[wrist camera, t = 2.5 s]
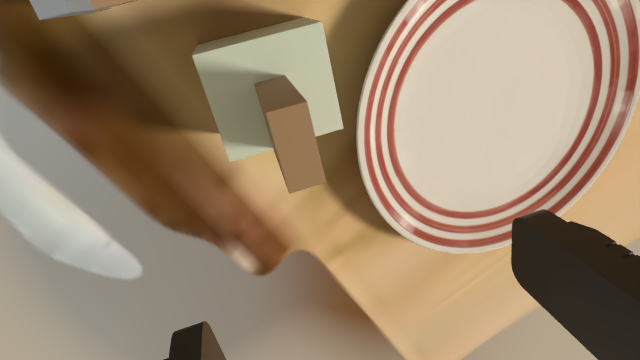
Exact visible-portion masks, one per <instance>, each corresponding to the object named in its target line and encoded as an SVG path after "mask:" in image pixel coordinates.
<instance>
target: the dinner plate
mask: <svg viewBox="0 0 640 360" xmlns="http://www.w3.org/2000/svg"><path fill="white" fill-rule="evenodd" d="M639 95H640V3H639V1H638V0H407V1H406V2H405V4H404V5H403V6H402V8H401V9H400V10H399V12H398V13H397V14H396V16H395V17H394V19H393V20H392V22H391V23H390V25H389V27H388V28H387V30H386V32H385V33H384V35H383V37H382V39H381V40H380V43H379V45H378V47H377V49H376V51H375V53H374V55H373V58H372V60H371V63H370V65H369V68H368V71H367V74H366V77H365V81H364V84H363V87H362V91H361V96H360V101H359V107H358V114H357V128H356V146H357V157H358V164H359V169H360V173H361V177H362V180H363V183H364V186H365V188H366V191H367V193H368V195H369V197H370V200H371V201H372V203H373V205H374V206H375V208H376V209H377V210H378V212H379V213H380V215H381V216H382V217H383V218H384V220H385V221H386V222H387V223H388V224H389V225H390V226H391V227H392V228H393V229H394V230H396V231H397V232H398V233H400V234H401V235H402V236H404V237H405V238H407V239H409V240H410V241H412V242H414V243H416V244H418V245H420V246H423V247H425V248H428V249H432V250H436V251H440V252H445V253H457V254H467V253H479V252H485V251H490V250H494V249H498V248H501V247H504V246H507V245H510V244H512V222H513V220H514V219H515V218H517V217H520V216H523V215H526V214H529V213H532V212H535V211H538V210H542V209H546V210H548V211H550V212H552V213H554V214H555V215H557V216H558V217H559V216H560V215H562V214H563V213H564V212H565V211H567V210H568V209H569V208H570V207H571V206H572V205H573V204H574V203H575V202H576V201H577V200H578V199H579V198H580V197H581V196H582V195H583V194H584V193H585V192H586V191H587V190H588V189H589V188H590V187H591V185H592V184H593V183H594V182H595V180H596V179H597V178H598V177H599V175H600V174H601V173H602V172H603V170H604V169H605V167H606V166H607V164H608V163H609V161H610V160H611V158H612V157H613V155H614V153H615V152H616V150H617V148H618V147H619V145H620V143H621V141H622V139H623V137H624V135H625V133H626V131H627V129H628V127H629V124H630V122H631V119H632V117H633V114H634V111H635V108H636V105H637V102H638V98H639Z"/></svg>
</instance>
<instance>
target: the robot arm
mask: <svg viewBox="0 0 640 360" xmlns="http://www.w3.org/2000/svg"><path fill="white" fill-rule="evenodd" d="M511 264H512V270H513V273H514V275H515V277H516V279H517V281H518V282H519V284H520V285H521V286H522V287H523V288H524V289H525V290H526V291H527V292H528V293H529V294H530V295H531V296H532V297H533V298H534V299H535V300H536V301H537V302H538V303H539V304H540V305H541V306H542V307H543V308H545V309H546V310H547V311H548V312H549V313H550V314H551V315H552V316H553V317H554V318H555V319H556V320H557V321H558V322H559V323H560V324H561V325H562V326H563V327H564V328H565V329H567V330H568V331H569V332H570V333H571V334H572V335H573V336H574V337H575V338H576V339H577V340H578V341H579V342H580V343H581V344H582V345H583V346H584V347H585V348H586V349H587V350H589V351H590V352H591V353H592V354H593V355H594V356H595V357H596V358H597V359H598V360H640V256H638V255H636V256H635V255H634V254H633V252H631V251H630V250H628V249H627V248H625V247H624V246H622V245H617V244H616V242H615V241H614V240H612V239H611V238H609V237H607V236H606V235H604V234H602V233H601V232H599V231H598V230H596V229H593V228H590V227H587V226H584V225H581V224H578V223H575V222H572V221H571V222H566V221H564V220H563V219H561V218H560V217H558V216H557V215H555V214H554V213H552V212H550V211H548V210H546V209H542V210H538V211H535V212H532V213H529V214H526V215H523V216H520V217H517V218H515V219H514V220H513V222H512V257H511ZM164 360H226V358H225V356H224V354H223V352H222V350H221V348H220V346H219V344H218V342H217V340H216V338H215V335H214V333H213V331H212V329H211V327H210V325H209V324H208V323H207V322H206V321H204V322H201V323H198V324H195V325H193V326H190V327H187V328H184V329H181V330H178V331H175V332H174V333H173V335H172V338H171V345H170V353H169V358H167V359H164Z"/></svg>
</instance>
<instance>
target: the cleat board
mask: <svg viewBox="0 0 640 360" xmlns="http://www.w3.org/2000/svg"><path fill="white" fill-rule="evenodd" d="M133 1H137V0H30V2H31V4H32V6H33V8H34V10H35V12H36V14H37V16H38V18H39V20H42V19H50V18H58V17H66V16H74V15H82V14H89V13H93V12H97V11H102V10H106V9H110V8H111V7H112V6H116V5H121V4H125V3H129V2H133Z"/></svg>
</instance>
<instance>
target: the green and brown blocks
mask: <svg viewBox="0 0 640 360" xmlns="http://www.w3.org/2000/svg"><path fill="white" fill-rule="evenodd" d="M192 57H193V60H194V63H195V66H196V69H197V71H198V74H199V77H200V80H201V83H202V85H203V88H204V91H205V94H206V97H207V99H208V102H209V105H210V108H211V110H212V113H213V116H214V119H215V122H216V124H217V127H218V130H219V133H220V136H221V138H222V141H223V144H224V147H225V150H226V152H227V155H228V158H229V161H230V162H231V161H235V160H238V159H241V158H245V157H248V156H252V155H255V154H258V153H262V152H265V151H269V150H272V149H274V152H275V155H276V158H277V160H278V163H279V166H280V169H281V172H282V174H283V177H284V180H285V183H286V186H287V188H288V191H289V194H290V193H293V192H296V191H300V190H303V189H306V188H309V187H313V186H316V185H319V184H323V183H326V179H325V175H324V170H323V166H322V162H321V158H320V154H319V149H318V145H317V141H316V136H320V135H323V134H327V133H330V132H334V131H337V130H340V129H344V128H343V123H342V118H341V113H340V108H339V103H338V98H337V93H336V88H335V83H334V78H333V73H332V68H331V63H330V58H329V53H328V48H327V43H326V38H325V33H324V28H323V23H322V21H318V20H313V19H309V18H305V17H303V18H299V19H295V20H291V21H287V22H283V23H279V24H275V25H272V26H268V27H264V28H260V29H256V30H252V31H248V32H244V33H241V34H237V35H233V36H229V37H225V38H221V39H217V40H213V41H209V42H206V43H202V44H198V45H197V46H196V48H195V50H194V52H193V54H192Z"/></svg>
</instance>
